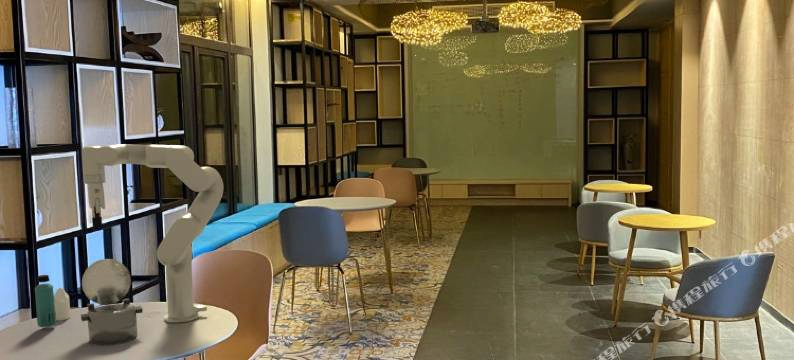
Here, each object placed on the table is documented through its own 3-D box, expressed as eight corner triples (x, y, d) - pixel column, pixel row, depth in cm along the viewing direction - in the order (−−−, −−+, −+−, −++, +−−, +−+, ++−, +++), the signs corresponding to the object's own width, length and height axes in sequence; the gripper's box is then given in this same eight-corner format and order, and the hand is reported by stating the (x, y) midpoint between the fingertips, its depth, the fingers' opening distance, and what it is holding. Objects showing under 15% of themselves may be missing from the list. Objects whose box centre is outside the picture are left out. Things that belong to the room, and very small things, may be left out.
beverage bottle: (49, 331, 283) (45, 277, 281) (33, 330, 284) (29, 277, 282) (60, 326, 289) (56, 273, 287) (44, 325, 291) (40, 273, 289)
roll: (56, 290, 295) (48, 288, 299) (58, 321, 296) (51, 319, 300) (71, 287, 300) (63, 285, 303) (73, 317, 301) (66, 315, 304)
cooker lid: (132, 301, 283) (131, 300, 286) (128, 256, 284) (127, 256, 287) (84, 307, 275) (83, 307, 278) (80, 261, 276) (79, 261, 279)
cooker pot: (139, 327, 285) (137, 297, 284) (147, 339, 270) (145, 307, 269) (80, 336, 276) (78, 305, 275) (85, 349, 261) (83, 316, 260)
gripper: (107, 180, 285) (110, 229, 287) (102, 176, 299) (105, 224, 301) (85, 181, 282) (88, 231, 284) (81, 178, 295) (84, 225, 297)
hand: (97, 227), depth 292 cm, fingers closed
